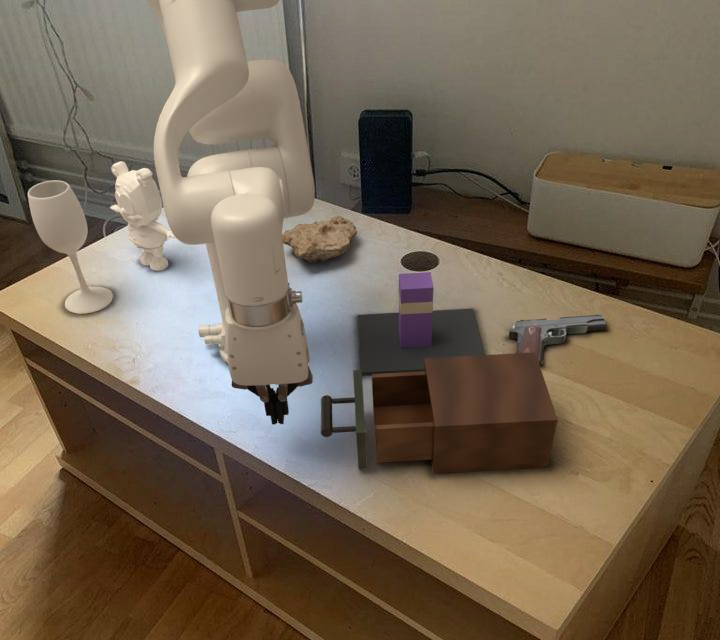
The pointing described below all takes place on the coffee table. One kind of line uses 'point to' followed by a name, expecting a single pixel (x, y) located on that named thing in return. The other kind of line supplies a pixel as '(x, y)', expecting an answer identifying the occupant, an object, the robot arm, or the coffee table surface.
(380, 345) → the mat
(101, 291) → the wineglass
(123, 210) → the white cartoon figurine
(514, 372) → the cabinet
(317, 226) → the rock
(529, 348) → the handgun
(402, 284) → the snack box
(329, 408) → the drawer
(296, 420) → the coffee table surface
